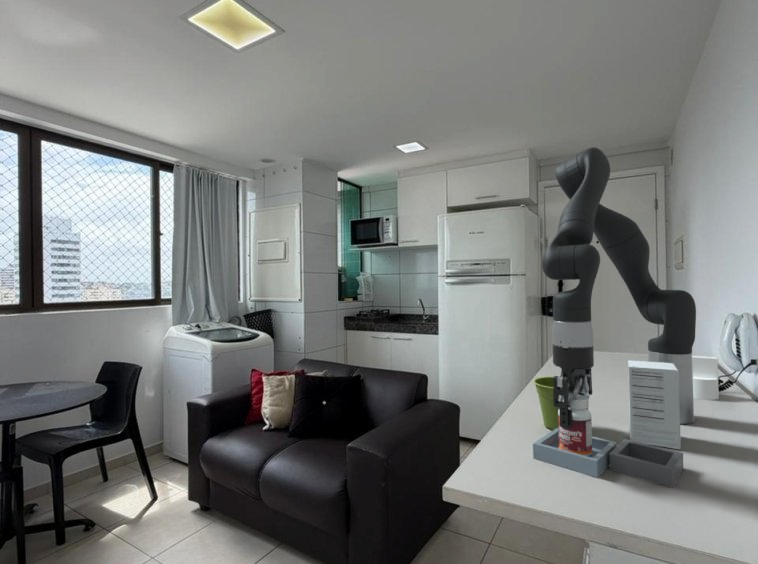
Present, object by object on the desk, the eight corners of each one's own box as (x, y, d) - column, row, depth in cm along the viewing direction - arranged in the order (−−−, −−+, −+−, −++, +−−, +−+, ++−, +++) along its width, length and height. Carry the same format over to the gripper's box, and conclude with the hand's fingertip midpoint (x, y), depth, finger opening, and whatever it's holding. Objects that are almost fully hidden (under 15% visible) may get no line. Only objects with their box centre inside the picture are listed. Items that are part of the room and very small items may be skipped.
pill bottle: (555, 453, 81) (553, 397, 81) (564, 443, 86) (562, 391, 86) (588, 461, 77) (586, 402, 77) (595, 451, 82) (594, 395, 82)
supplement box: (681, 450, 83) (679, 370, 84) (629, 442, 88) (628, 366, 88) (676, 435, 92) (674, 362, 92) (629, 428, 96) (627, 359, 97)
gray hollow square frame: (624, 453, 83) (624, 439, 83) (683, 468, 76) (683, 452, 76) (609, 469, 76) (609, 453, 76) (672, 487, 69) (672, 470, 69)
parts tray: (557, 441, 90) (556, 427, 90) (617, 457, 81) (616, 442, 81) (533, 458, 81) (532, 443, 81) (597, 477, 73) (596, 461, 73)
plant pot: (527, 419, 104) (526, 376, 104) (573, 419, 104) (572, 376, 104) (544, 436, 92) (543, 388, 92) (596, 436, 92) (595, 387, 92)
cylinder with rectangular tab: (716, 394, 124) (714, 355, 124) (721, 401, 116) (720, 360, 116) (679, 390, 129) (678, 353, 129) (682, 397, 121) (681, 358, 121)
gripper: (567, 337, 89) (568, 410, 89) (539, 345, 79) (541, 427, 79) (604, 340, 84) (606, 418, 83) (578, 349, 74) (581, 437, 74)
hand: (574, 422), depth 81 cm, fingers open, 8 cm apart
